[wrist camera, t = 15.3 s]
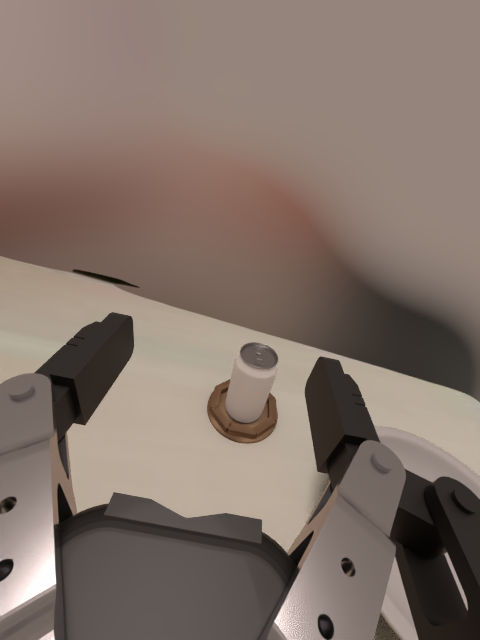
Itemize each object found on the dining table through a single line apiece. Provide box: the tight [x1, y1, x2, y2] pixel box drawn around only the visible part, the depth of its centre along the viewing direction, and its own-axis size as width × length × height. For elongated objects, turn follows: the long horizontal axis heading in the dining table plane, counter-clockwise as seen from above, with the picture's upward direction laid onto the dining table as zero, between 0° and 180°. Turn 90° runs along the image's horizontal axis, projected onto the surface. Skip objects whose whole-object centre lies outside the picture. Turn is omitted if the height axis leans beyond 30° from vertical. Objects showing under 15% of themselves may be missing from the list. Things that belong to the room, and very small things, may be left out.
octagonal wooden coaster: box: [208, 379, 278, 443], centre depth 43 cm, size 12×12×2 cm
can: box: [225, 343, 278, 423], centre depth 40 cm, size 6×6×12 cm
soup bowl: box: [329, 427, 480, 640], centre depth 29 cm, size 24×24×7 cm
